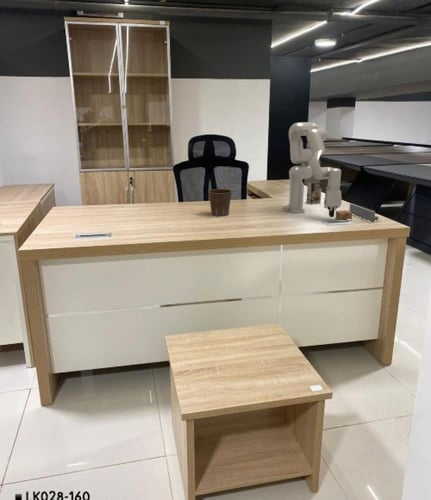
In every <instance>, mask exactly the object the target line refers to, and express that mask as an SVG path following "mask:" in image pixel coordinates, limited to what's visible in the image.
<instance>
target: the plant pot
mask: <svg viewBox="0 0 431 500" xmlns="http://www.w3.org/2000/svg"><path fill="white" fill-rule="evenodd" d="M207 192H208V196H209V205H210V213H211V214H210V215H212V216H214V217H215V216H216V217H223V216H224V217H227V216H228V215H230V206H231V199H232V193H233V190H231V189H228V188H227V189H225V188H223V189H222V188H214V189H209V190H208V191H207Z"/></svg>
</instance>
